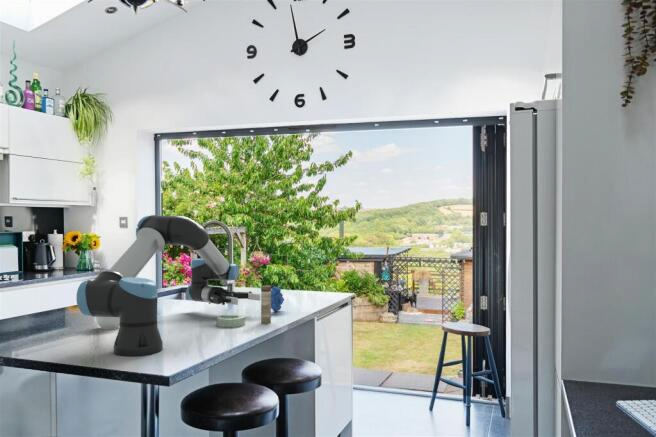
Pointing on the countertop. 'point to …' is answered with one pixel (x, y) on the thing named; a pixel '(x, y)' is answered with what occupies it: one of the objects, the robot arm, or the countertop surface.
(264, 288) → the birch dowel
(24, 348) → the countertop surface
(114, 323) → the lidded jar
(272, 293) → the grapes
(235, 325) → the pale green ring
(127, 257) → the robot arm
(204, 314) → the countertop surface
